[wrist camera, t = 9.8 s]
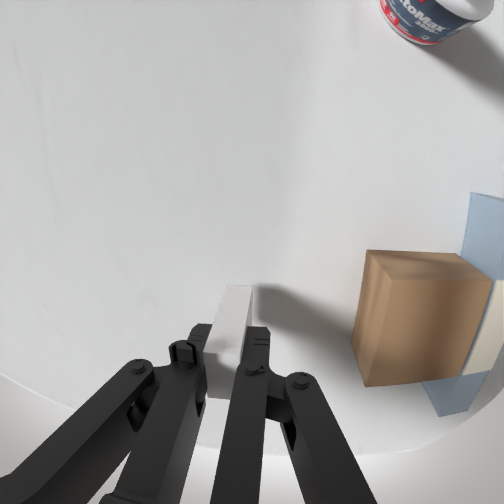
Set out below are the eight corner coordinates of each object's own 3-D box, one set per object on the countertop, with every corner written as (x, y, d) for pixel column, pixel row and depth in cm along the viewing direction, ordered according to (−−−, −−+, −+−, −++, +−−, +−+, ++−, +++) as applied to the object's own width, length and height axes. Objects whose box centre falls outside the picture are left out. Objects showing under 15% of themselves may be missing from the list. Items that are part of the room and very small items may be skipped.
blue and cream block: (421, 381, 21) (439, 418, 17) (471, 192, 16) (513, 205, 12) (447, 377, 21) (468, 412, 17) (499, 197, 16) (540, 211, 11)
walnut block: (350, 340, 20) (365, 386, 16) (365, 248, 18) (392, 280, 14) (431, 337, 20) (457, 376, 15) (453, 252, 18) (492, 280, 13)
